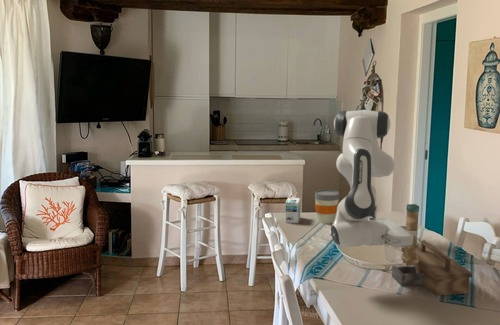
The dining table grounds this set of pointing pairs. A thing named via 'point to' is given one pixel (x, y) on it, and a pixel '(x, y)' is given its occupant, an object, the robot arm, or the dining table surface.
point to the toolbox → (433, 272)
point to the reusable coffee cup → (326, 205)
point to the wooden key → (412, 224)
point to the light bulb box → (292, 210)
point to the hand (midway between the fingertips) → (413, 230)
